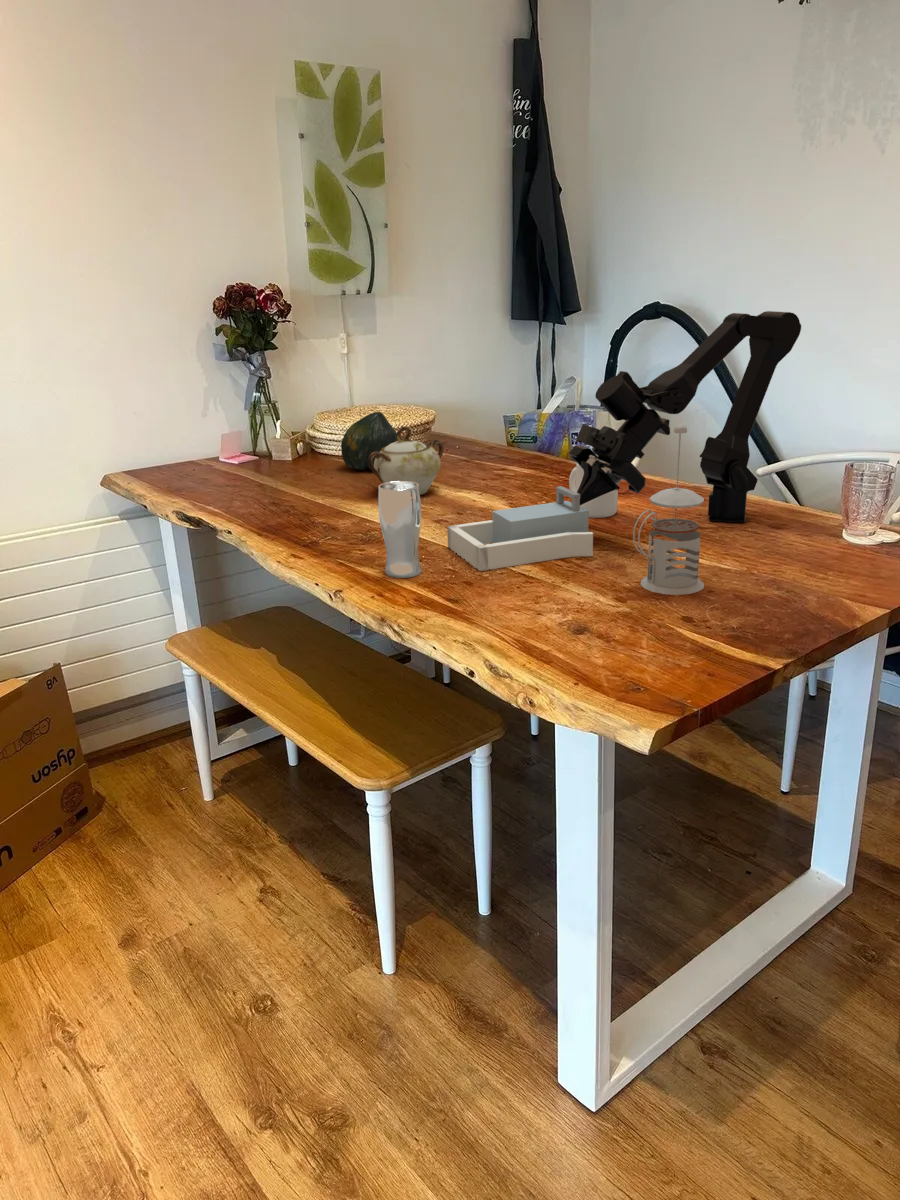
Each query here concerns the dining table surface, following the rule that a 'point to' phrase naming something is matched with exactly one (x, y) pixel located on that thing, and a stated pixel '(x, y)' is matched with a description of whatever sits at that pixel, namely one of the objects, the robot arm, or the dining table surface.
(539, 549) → the bay
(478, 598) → the dining table surface
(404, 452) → the sugar bowl
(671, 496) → the french press
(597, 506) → the mug
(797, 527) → the dining table surface
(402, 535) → the beer glass
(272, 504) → the dining table surface
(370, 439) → the squash
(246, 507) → the dining table surface
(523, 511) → the box with loop handle
